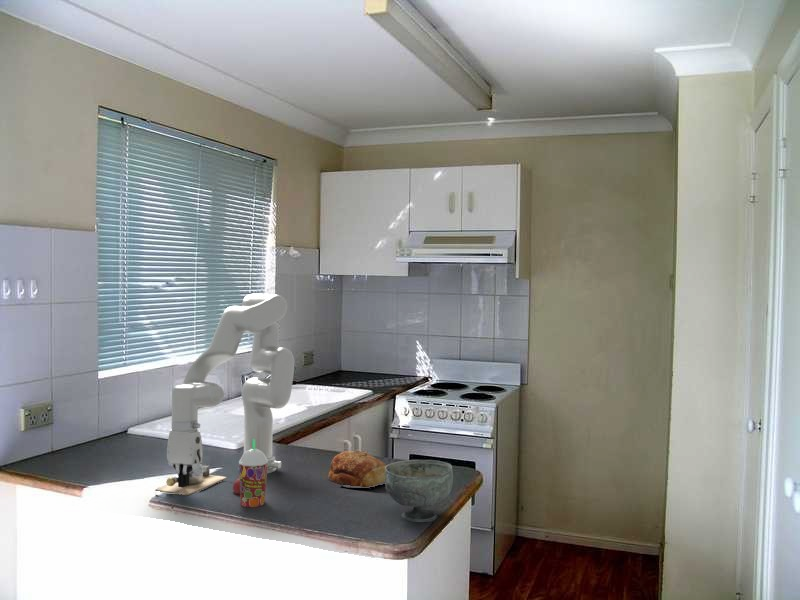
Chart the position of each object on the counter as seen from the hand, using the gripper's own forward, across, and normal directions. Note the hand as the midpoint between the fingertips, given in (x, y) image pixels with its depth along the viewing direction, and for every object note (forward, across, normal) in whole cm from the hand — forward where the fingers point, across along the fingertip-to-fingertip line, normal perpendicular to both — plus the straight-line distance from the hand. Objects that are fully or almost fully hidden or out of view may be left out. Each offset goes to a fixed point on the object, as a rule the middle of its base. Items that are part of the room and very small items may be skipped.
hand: (183, 486), depth 206 cm
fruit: (+4, -17, -7) cm, 19 cm away
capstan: (+1, +2, -8) cm, 8 cm away
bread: (+4, -44, -36) cm, 57 cm away
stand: (+3, +2, -8) cm, 9 cm away
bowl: (+4, -72, -9) cm, 72 cm away
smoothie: (+4, -24, +1) cm, 25 cm away
